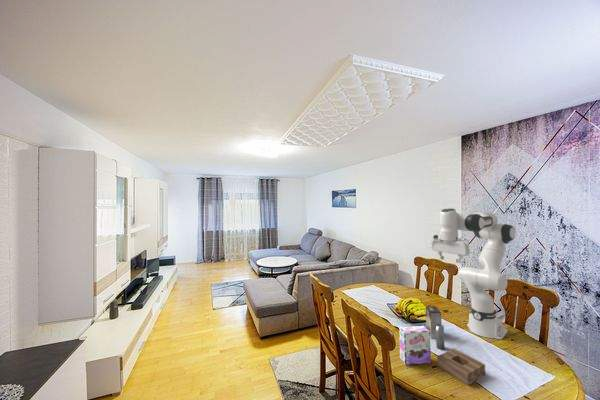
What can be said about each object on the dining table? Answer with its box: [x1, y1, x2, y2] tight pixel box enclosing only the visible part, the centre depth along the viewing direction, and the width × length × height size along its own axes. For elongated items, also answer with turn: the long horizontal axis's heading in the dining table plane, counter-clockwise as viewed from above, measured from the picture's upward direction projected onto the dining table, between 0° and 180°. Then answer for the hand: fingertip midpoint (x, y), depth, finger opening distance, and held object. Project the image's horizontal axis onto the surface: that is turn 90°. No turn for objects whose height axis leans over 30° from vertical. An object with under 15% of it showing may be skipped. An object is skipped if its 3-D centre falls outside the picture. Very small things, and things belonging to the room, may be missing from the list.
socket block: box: [436, 348, 486, 386], centre depth 113 cm, size 14×14×5 cm
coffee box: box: [425, 305, 443, 340], centre depth 144 cm, size 9×6×16 cm
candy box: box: [398, 325, 432, 366], centre depth 121 cm, size 14×6×16 cm, turn 94°
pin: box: [435, 324, 446, 351], centre depth 131 cm, size 4×4×12 cm
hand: (449, 260), depth 134 cm, fingers open, 8 cm apart
